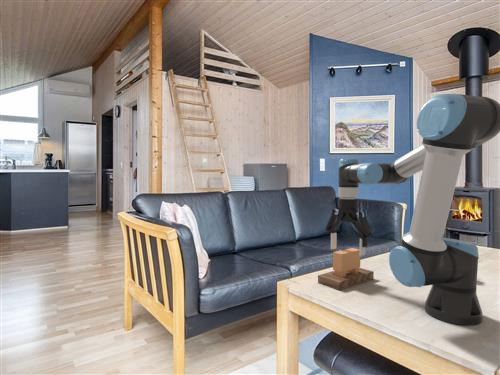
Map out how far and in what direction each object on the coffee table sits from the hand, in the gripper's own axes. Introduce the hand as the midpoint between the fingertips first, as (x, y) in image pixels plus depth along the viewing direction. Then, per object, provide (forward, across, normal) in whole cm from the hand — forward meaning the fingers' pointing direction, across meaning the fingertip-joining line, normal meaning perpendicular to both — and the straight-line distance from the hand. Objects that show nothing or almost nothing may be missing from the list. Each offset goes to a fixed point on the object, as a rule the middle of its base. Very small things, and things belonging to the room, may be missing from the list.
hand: (347, 252), depth 135 cm
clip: (+12, 0, 0) cm, 12 cm away
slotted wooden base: (+12, 0, 0) cm, 12 cm away
